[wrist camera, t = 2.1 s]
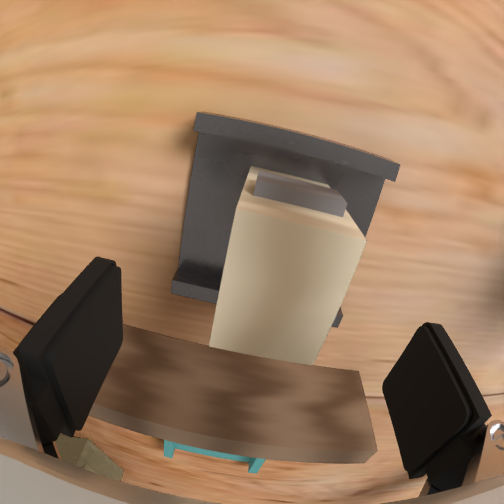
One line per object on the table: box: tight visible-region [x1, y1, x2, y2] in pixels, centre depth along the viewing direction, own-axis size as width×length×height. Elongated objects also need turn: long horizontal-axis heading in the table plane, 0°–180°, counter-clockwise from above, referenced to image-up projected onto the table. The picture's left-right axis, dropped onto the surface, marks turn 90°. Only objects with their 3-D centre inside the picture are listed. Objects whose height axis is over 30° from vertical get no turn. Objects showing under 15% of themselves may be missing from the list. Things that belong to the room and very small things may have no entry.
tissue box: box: [55, 434, 124, 481], centre depth 30 cm, size 19×10×16 cm, turn 106°
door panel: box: [89, 324, 378, 464], centre depth 20 cm, size 20×2×8 cm, turn 78°
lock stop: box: [209, 166, 367, 365], centre depth 15 cm, size 4×7×8 cm
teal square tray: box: [164, 440, 266, 473], centre depth 28 cm, size 11×11×2 cm
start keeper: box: [171, 112, 400, 328], centre depth 18 cm, size 11×11×2 cm
